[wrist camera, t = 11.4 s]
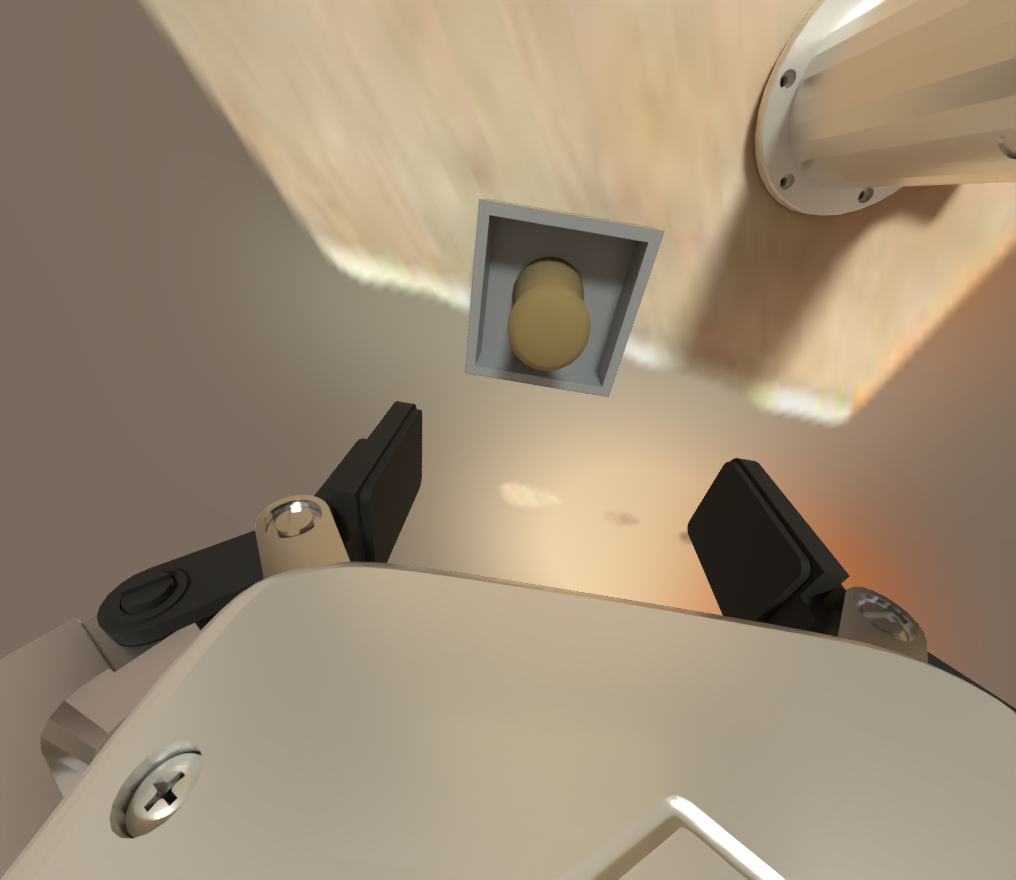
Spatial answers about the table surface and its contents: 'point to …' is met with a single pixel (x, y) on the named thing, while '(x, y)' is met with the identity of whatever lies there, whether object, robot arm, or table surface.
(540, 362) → the cork
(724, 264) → the table surface
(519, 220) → the box
